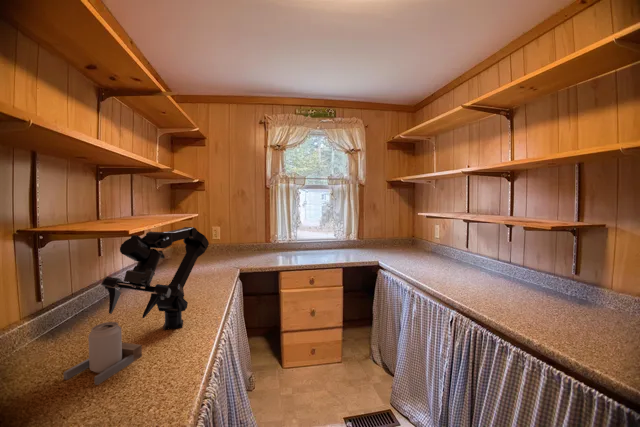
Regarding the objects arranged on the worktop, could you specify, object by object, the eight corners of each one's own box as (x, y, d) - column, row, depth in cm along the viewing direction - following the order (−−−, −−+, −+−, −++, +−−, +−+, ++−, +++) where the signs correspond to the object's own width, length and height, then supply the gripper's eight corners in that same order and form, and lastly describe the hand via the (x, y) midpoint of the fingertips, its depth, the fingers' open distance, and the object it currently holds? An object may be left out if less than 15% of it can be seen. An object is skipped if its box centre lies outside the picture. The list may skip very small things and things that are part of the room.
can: (128, 359, 86) (127, 320, 85) (110, 374, 78) (108, 331, 78) (102, 359, 86) (101, 320, 85) (82, 374, 78) (80, 331, 78)
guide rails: (103, 357, 87) (102, 350, 87) (133, 361, 85) (133, 354, 84) (63, 379, 76) (63, 372, 76) (97, 385, 74) (97, 377, 74)
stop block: (112, 352, 90) (111, 341, 90) (141, 356, 87) (141, 345, 87) (103, 357, 87) (102, 345, 87) (133, 361, 85) (133, 350, 84)
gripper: (106, 253, 86) (80, 306, 78) (172, 263, 90) (154, 315, 82) (118, 264, 95) (96, 313, 88) (177, 273, 99) (161, 321, 91)
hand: (126, 315), depth 87 cm, fingers open, 9 cm apart
